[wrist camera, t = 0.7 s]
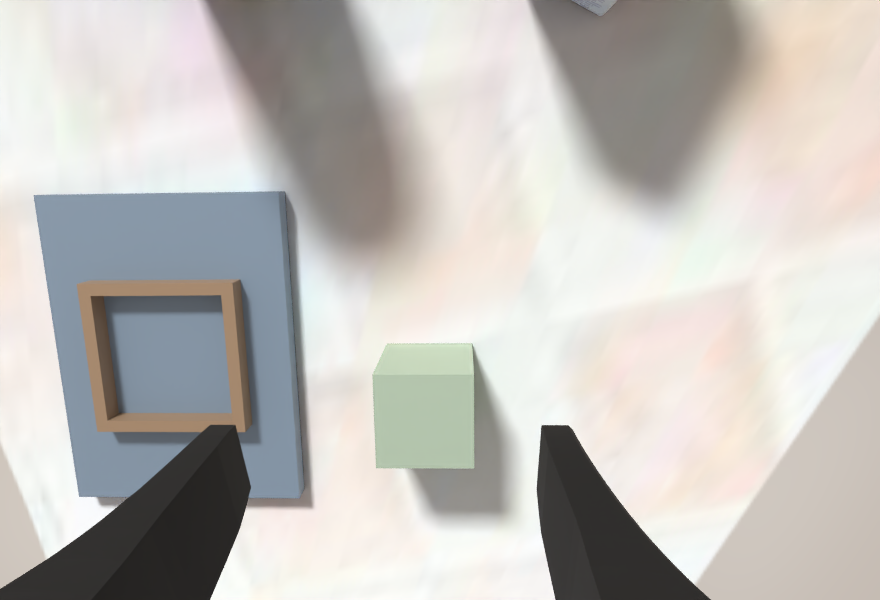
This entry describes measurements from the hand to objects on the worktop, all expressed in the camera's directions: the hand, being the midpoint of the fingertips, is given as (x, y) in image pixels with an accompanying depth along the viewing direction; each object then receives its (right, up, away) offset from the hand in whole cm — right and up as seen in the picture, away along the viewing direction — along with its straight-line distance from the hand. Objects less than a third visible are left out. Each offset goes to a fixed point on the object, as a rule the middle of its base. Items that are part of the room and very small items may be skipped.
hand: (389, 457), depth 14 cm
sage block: (+1, -1, +17) cm, 17 cm away
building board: (-12, +1, +17) cm, 21 cm away
